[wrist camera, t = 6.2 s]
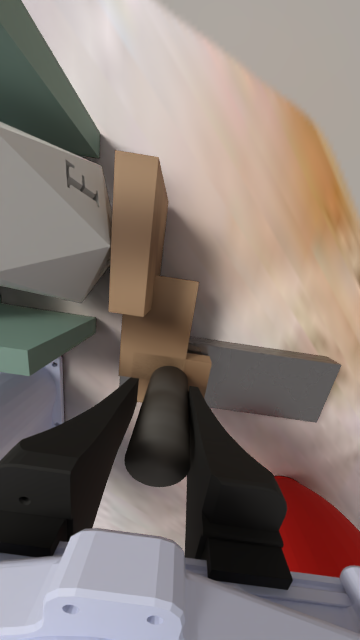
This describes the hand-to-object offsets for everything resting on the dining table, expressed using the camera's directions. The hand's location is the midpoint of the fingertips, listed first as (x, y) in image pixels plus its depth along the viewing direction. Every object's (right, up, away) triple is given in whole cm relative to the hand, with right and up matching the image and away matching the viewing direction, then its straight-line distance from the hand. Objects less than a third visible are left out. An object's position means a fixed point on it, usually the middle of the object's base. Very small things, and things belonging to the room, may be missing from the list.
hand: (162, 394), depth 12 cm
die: (-6, +12, +2) cm, 13 cm away
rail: (+5, 0, +4) cm, 7 cm away
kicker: (+1, +6, +2) cm, 7 cm away
